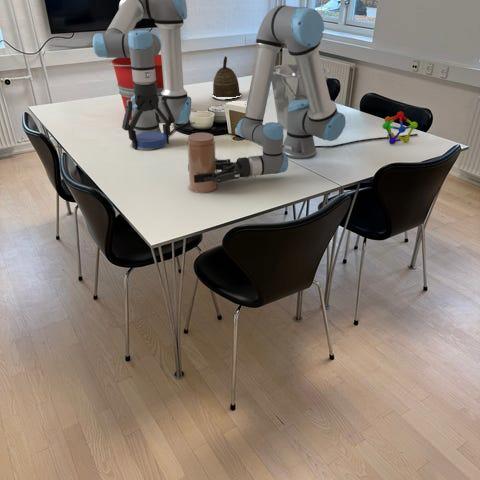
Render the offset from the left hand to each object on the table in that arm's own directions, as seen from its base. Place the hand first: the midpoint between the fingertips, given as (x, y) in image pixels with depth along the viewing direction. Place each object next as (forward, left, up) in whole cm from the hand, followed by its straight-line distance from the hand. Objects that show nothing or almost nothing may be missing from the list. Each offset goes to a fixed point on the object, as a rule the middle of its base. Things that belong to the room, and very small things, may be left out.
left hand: (151, 145), depth 158 cm
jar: (-3, +18, -17) cm, 25 cm away
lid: (0, 0, +3) cm, 3 cm away
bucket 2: (-85, +51, -17) cm, 100 cm away
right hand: (-2, +14, -11) cm, 17 cm away
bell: (-137, +7, -17) cm, 138 cm away
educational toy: (-63, +99, -17) cm, 119 cm away
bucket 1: (-93, -31, -17) cm, 99 cm away
